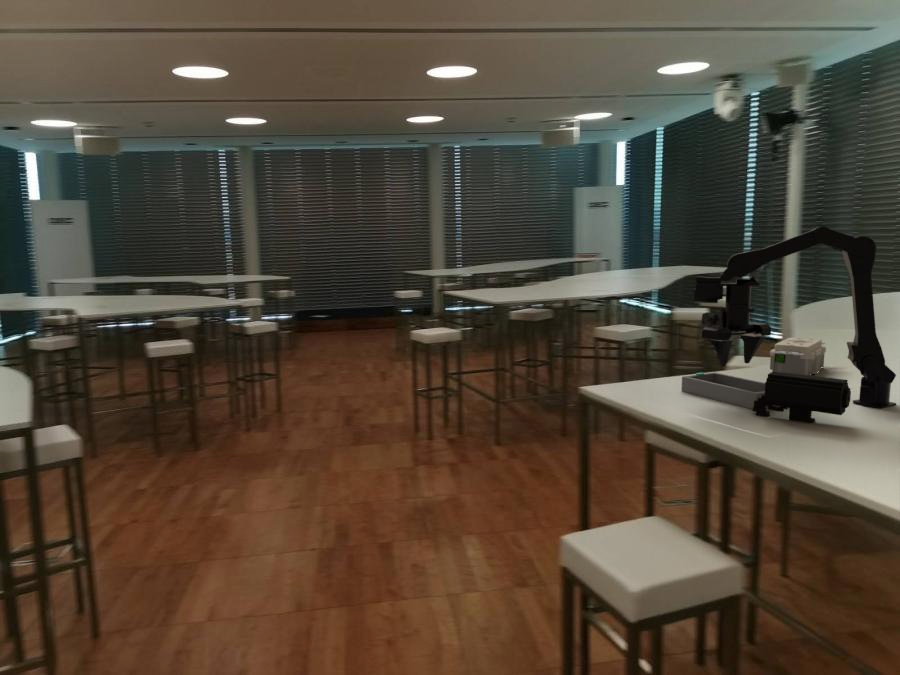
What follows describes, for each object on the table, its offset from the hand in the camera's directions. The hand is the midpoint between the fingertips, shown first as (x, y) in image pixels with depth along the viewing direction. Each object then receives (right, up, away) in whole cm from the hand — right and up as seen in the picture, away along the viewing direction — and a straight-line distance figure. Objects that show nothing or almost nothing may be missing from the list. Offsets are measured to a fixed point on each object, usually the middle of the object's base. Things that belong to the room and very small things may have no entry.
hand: (734, 364), depth 158 cm
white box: (+32, -5, +28) cm, 43 cm away
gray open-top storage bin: (0, -8, +1) cm, 9 cm away
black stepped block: (+5, -12, -20) cm, 24 cm away
